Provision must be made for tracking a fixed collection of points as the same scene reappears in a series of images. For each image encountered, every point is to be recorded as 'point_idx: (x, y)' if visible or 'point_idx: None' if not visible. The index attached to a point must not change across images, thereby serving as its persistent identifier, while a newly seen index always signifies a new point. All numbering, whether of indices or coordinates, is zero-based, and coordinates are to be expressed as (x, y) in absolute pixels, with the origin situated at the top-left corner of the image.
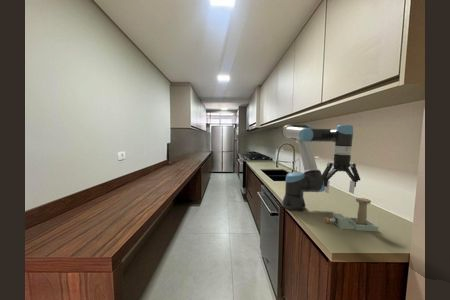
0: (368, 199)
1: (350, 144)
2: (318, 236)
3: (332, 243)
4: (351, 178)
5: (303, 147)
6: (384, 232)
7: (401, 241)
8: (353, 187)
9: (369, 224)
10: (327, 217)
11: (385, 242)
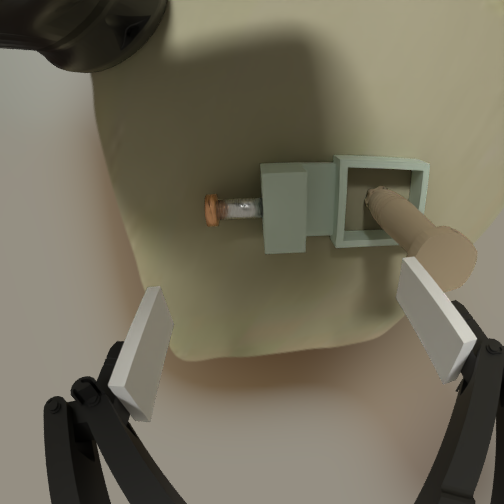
0: (474, 257)
1: None
2: None
3: (186, 334)
4: (469, 384)
5: None
6: None
7: None
8: (422, 337)
9: (413, 198)
10: (211, 218)
11: (368, 304)
